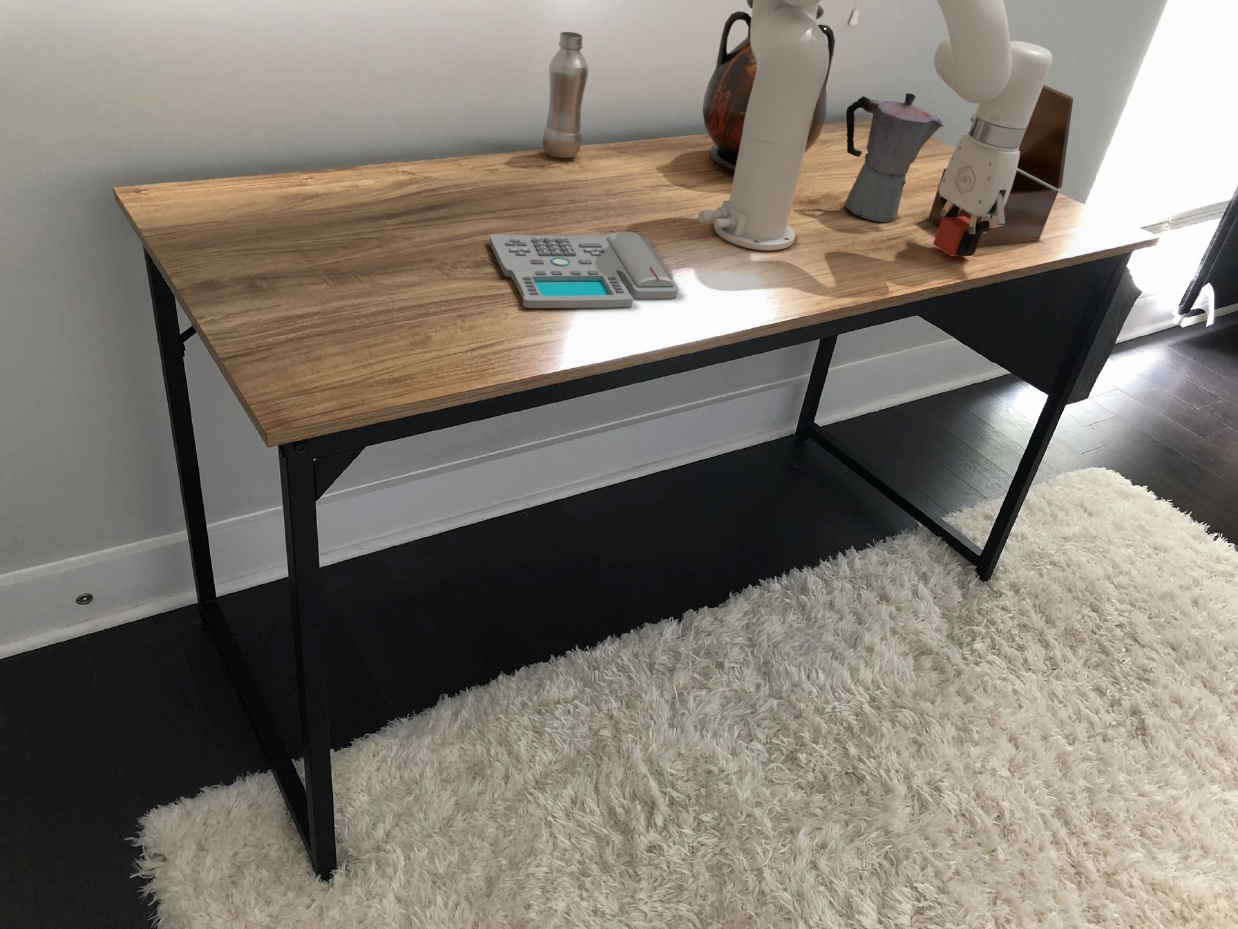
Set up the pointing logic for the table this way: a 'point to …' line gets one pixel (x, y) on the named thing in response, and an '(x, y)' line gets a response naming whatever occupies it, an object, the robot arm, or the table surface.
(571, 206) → the table surface
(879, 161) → the moka pot
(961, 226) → the block
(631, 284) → the office telephone
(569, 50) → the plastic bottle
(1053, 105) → the lid
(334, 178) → the table surface
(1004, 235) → the box
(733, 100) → the amphora vase
